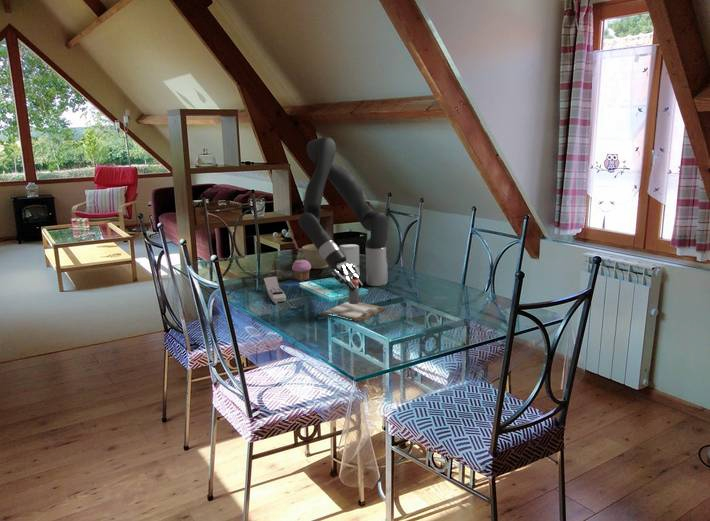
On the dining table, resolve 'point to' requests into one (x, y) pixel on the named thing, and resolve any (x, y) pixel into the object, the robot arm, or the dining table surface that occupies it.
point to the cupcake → (301, 269)
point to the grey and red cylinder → (354, 292)
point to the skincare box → (351, 254)
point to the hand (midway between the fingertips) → (357, 288)
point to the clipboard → (355, 311)
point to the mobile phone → (274, 290)
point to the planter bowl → (314, 257)
